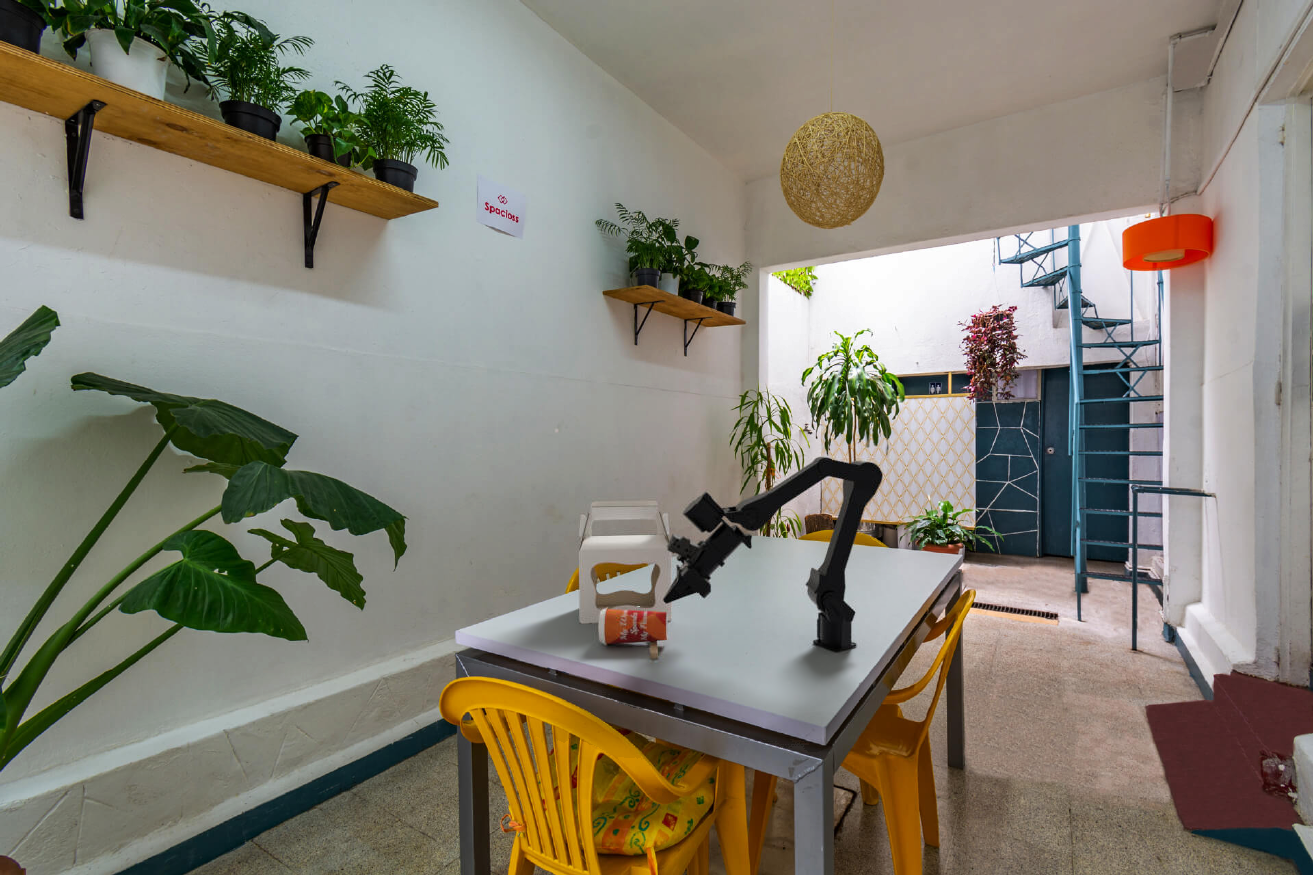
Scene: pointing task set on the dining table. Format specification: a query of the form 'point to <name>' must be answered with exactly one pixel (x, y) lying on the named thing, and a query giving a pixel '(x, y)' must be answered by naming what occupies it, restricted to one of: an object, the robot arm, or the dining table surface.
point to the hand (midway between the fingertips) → (664, 601)
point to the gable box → (623, 559)
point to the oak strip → (653, 650)
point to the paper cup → (632, 626)
